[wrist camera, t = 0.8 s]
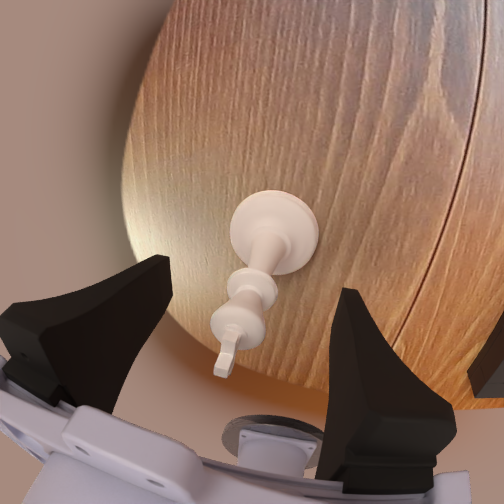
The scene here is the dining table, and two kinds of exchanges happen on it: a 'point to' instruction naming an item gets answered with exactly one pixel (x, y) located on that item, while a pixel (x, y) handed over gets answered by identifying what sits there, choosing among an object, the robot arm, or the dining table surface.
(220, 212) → the dining table surface
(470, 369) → the tray
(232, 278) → the chess piece
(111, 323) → the robot arm
